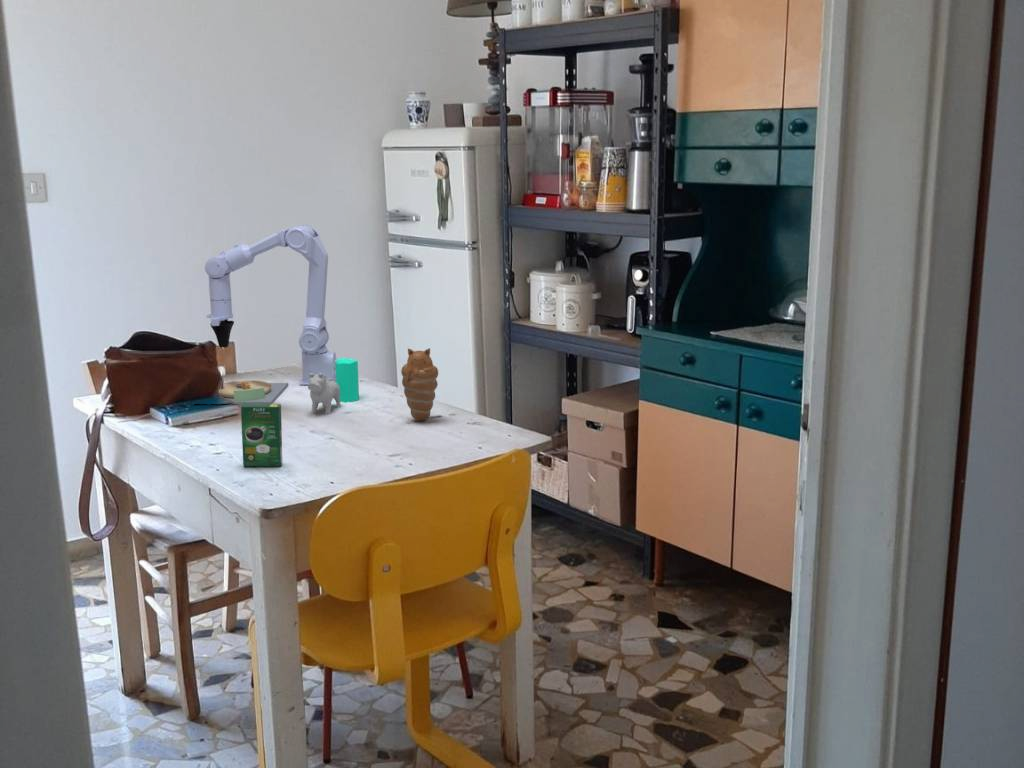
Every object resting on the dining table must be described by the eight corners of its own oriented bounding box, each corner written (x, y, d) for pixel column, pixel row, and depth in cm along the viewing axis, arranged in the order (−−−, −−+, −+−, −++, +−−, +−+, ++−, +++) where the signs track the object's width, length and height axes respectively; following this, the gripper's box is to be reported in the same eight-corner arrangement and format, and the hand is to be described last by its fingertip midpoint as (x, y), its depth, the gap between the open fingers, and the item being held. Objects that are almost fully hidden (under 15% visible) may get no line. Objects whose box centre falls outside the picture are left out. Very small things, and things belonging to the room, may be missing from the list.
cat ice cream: (401, 425, 235) (399, 351, 231) (404, 416, 242) (402, 345, 238) (438, 425, 235) (437, 351, 231) (439, 416, 243) (438, 344, 239)
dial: (249, 382, 274) (248, 367, 273) (283, 390, 265) (283, 375, 264) (202, 391, 263) (200, 376, 262) (236, 400, 254) (235, 385, 253)
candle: (333, 398, 261) (332, 353, 259) (355, 395, 264) (354, 351, 261) (339, 403, 256) (338, 357, 253) (362, 400, 259) (360, 356, 256)
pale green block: (263, 397, 258) (263, 387, 258) (265, 398, 257) (264, 388, 256) (233, 400, 255) (232, 390, 255) (234, 401, 254) (234, 391, 253)
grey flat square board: (288, 385, 275) (288, 381, 275) (270, 405, 254) (270, 400, 254) (216, 385, 275) (216, 381, 275) (193, 405, 254) (192, 401, 253)
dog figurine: (303, 417, 242) (301, 375, 240) (323, 404, 255) (321, 364, 252) (324, 418, 241) (322, 376, 239) (343, 405, 254) (341, 365, 251)
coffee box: (284, 463, 206) (281, 402, 203) (282, 467, 203) (279, 405, 200) (245, 463, 205) (242, 402, 203) (242, 467, 203) (239, 406, 200)
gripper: (213, 295, 283) (216, 342, 286) (198, 303, 268) (202, 351, 271) (238, 295, 283) (241, 342, 286) (224, 303, 268) (227, 351, 272)
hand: (223, 347), depth 279 cm, fingers closed
